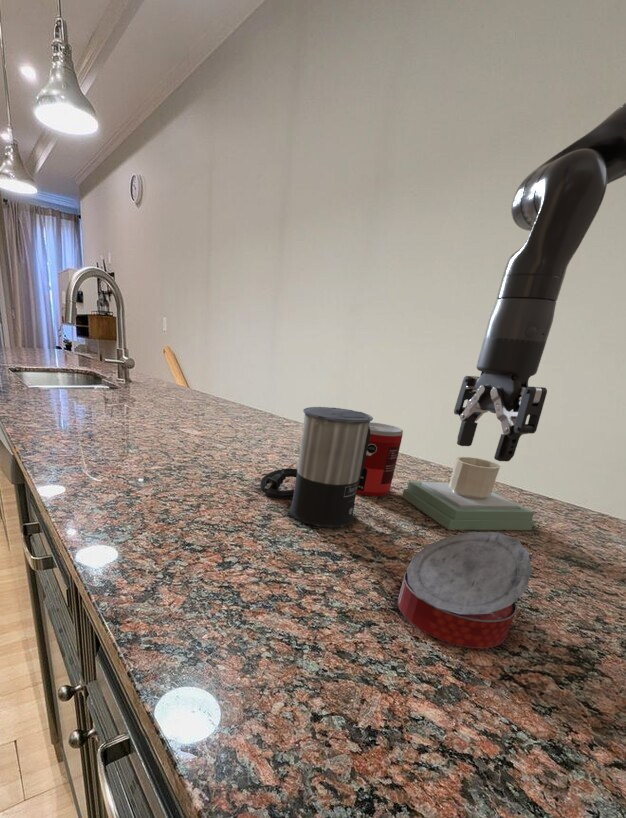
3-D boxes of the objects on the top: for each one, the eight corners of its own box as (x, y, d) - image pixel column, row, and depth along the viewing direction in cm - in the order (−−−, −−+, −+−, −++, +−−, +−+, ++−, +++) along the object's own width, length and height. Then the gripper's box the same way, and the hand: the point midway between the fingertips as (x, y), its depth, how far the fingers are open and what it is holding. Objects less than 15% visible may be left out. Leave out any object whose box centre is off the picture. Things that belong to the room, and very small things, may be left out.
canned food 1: (336, 481, 80) (347, 420, 76) (378, 483, 81) (391, 423, 77) (350, 496, 73) (363, 430, 69) (396, 498, 74) (411, 433, 70)
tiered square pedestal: (472, 491, 76) (475, 483, 75) (516, 515, 66) (519, 505, 66) (419, 490, 74) (421, 481, 73) (457, 514, 64) (460, 504, 64)
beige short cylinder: (472, 487, 73) (481, 457, 71) (498, 500, 67) (509, 468, 65) (440, 486, 72) (448, 456, 70) (463, 499, 66) (473, 467, 64)
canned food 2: (491, 683, 42) (554, 639, 34) (383, 647, 43) (419, 597, 36) (490, 584, 48) (542, 528, 41) (396, 556, 50) (429, 498, 42)
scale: (474, 499, 78) (479, 482, 77) (531, 530, 66) (538, 512, 65) (401, 497, 75) (405, 480, 74) (447, 530, 63) (453, 511, 62)
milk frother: (346, 535, 59) (369, 423, 53) (236, 509, 64) (246, 404, 58) (361, 502, 71) (381, 408, 65) (268, 483, 76) (278, 394, 70)
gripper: (583, 341, 55) (540, 467, 61) (501, 337, 68) (472, 441, 74) (531, 336, 54) (492, 466, 60) (458, 333, 67) (432, 440, 73)
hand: (481, 452), depth 67 cm, fingers open, 8 cm apart
